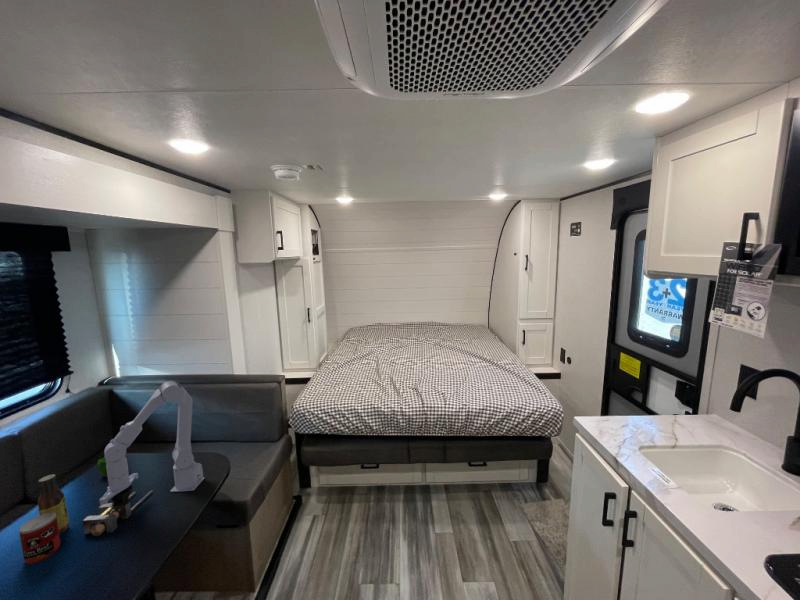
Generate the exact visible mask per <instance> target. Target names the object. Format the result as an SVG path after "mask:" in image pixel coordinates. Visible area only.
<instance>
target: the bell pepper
mask: <svg viewBox="0 0 800 600" xmlns="http://www.w3.org/2000/svg"><path fill="white" fill-rule="evenodd" d="M106 465H107V464H106V459H105V457H102V458H100V459H98V460H97V471H98V472H99V474H100V475H101V476H102V477H105V478H106V477H107V478H108V476H107V468H106Z"/></svg>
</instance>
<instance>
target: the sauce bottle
mask: <svg viewBox="0 0 800 600" xmlns="http://www.w3.org/2000/svg"><path fill="white" fill-rule="evenodd" d="M37 483H38V485H39V488H40V496H39V497H38V499H37V506H38V516H40V515H42V514H46V513H51V512H52V513H55V514H56V517H57V523H58V530H59V535H61V534H63V533H64V532H66V531H67V529H69V527H70V523H69V522H70V520H69V514H68V507H67V502H66V498H65V493H64V492H63V491H62V490H61V489H60V487H59V486H58V483H57V476H56V474H53V473H52V474H48V475H46V476H44V477H42V478H39V479H38V482H37Z"/></svg>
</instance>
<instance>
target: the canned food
mask: <svg viewBox="0 0 800 600" xmlns="http://www.w3.org/2000/svg"><path fill="white" fill-rule="evenodd" d="M19 538H20V543H21V544H20V545H21V550H22V556H23V561H24V563H25V564H26V565H33V564H37V563H40V562H42V561H44V560H46V559H48V558H49V557H51V556H52V555H53V554H55V553H56V552H58V550H59V549H60V546H61V537H60V534H59V530H58V523H57V517H56V514H55V513H52V512H51V513H46V514H42V515H37V516H35V517H34V518H32V519H30V520H28V521H26V522H25V523H24V524H23V525H21V526H20V527H19Z"/></svg>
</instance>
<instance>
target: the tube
mask: <svg viewBox="0 0 800 600" xmlns="http://www.w3.org/2000/svg"><path fill="white" fill-rule="evenodd" d="M112 510H113V509H112ZM112 510H111V511H112ZM111 511H110V512H111ZM111 514H116V519H117V520H118V519H119V518H121V512H120V509H114V510H113V511H112V512H111V513H109V514H108V515H111ZM105 531H106V524H105V522H97V523H96V524H95V526H94V527H93V528H92V529H91V534H92V536H94V537H99V536H100V535H102V534H103V533H104V532H105Z"/></svg>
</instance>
